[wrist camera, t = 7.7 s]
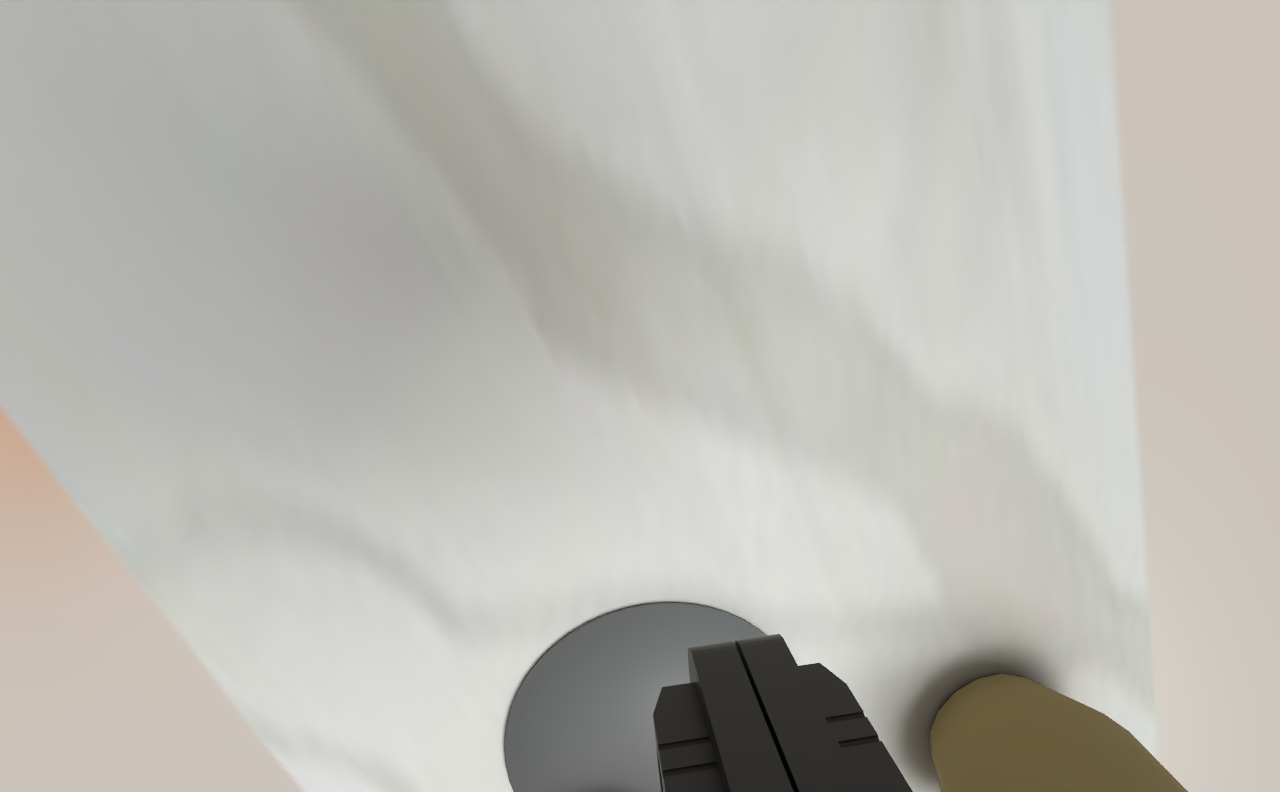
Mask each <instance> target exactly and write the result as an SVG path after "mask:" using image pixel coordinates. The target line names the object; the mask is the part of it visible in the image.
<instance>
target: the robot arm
mask: <svg viewBox="0 0 1280 792" xmlns="http://www.w3.org/2000/svg"><path fill="white" fill-rule="evenodd" d="M688 663H689V676H690V683H686V684H679V685H673V686H666V687H662V689H661V692H660V695H659V698H658V701H657V704H656V707H655V710H654V713H653V721H654V730H655V740H656V750H657V760H658V769H659V779H660V789H661V792H912V790H911V788H910V787H909V785H908V783H907V782H906V780H905V779H904V777H903V775H902V774H901V772H900V770H899V769H898V767H897V765H896V764H895V762H894V761H893V759H892V757H891V756H890V754H889V752H888V751H887V749H886V748H885V746H884V744H883V743H882V741H879V739H878V735H877V733H876V731H875V730H874V728H873V726H872V725H871V723H870V722H869V720H868V718H867V717H865V716H864V713H863V710H862V709H861V707H860V705H859V704H858V702H857V700H856V699H855V697H854V696H853V694H852V692H851V691H850V689H849V687H848V686H847V684H846V683H844V682H843V681H842V680H841V679H839V678H838V677H837V676H836V675H834V674H833V673H832V672H830V671H829V670H828V669H827V668H825V667H824V666H823V665H822V664H820V663H815V664H809V665H802V666H798V665H797V664H796V662H795V660H794V658H793V656H792V654H791V652H790V650H789V648H788V646H787V645H786V643H785V641H784V639H783V637H782V636H781V635H780V634H776V635H769V636H762V637H756V638H749V639H742V640H735V642H733V641H730V642H723V643H716V644H710V645H703V646H696V647H689V648H688Z"/></svg>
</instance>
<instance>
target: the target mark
mask: <svg viewBox="0 0 1280 792" xmlns="http://www.w3.org/2000/svg"><path fill="white" fill-rule="evenodd" d="M762 636H767V635H766V634H764V633H763V632H762V631H761V630H759V629H758V628H756V627H755V626H753V625H752V624H750V623H748V622H747V621H745V620H743V619H741V618H739V617H737V616H734V615H732V614H730V613H728V612H725V611H721V610H718V609H715V608H712V607H708V606H702V605H696V604H690V603H672V602H666V603H652V604H644V605H639V606H634V607H628V608H625V609H621V610H618V611H615V612H612V613H609V614H606V615H604V616H601V617H599V618H597V619H595V620H592V621H590V622H588V623H586V624H584V625H583V626H581V627H579V628H578V629H576V630H574V631H573V632H571V633H569V634H568V635H567V636H565V637H564V638H563V639H562V640H560V641H559V642H558V643H556V644H555V645H554V646H553V647H552V648H551V649H550V650H549V651H548V652H547V653H546V654H545V655H544V656H543V657H542V658H541V659H540V660H539V661H538V662H537V663H536V665H535V666H534V667H533V669H532V670H531V671H530V672H529V674H528V675H527V676H526V678H525V680H524V682H523V683H522V685H521V687H520V689H519V690H518V692H517V695H516V697H515V700H514V702H513V705H512V707H511V710H510V714H509V718H508V722H507V727H506V735H505V748H504V749H505V761H506V768H507V772H508V776H509V780H510V783H511V786H512V788H513V791H514V792H661V789H660V779H659V769H658V760H657V750H656V740H655V730H654V721H653V713H654V710H655V707H656V704H657V701H658V698H659V695H660V692H661V689H662V687H666V686H673V685H679V684H686V683H690V676H689V663H688V648H689V647H696V646H703V645H710V644H716V643H723V642H730V641H733V642H735V640H742V639H749V638H756V637H762Z"/></svg>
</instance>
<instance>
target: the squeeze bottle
mask: <svg viewBox="0 0 1280 792" xmlns="http://www.w3.org/2000/svg"><path fill="white" fill-rule="evenodd" d="M930 751H931V757H932V760H933V764H934V767H935V771H936V774H937V777H938V781H939V784H940V787H941V791H942V792H1188V791H1187V790H1186V789H1185V788H1184V787H1183V786H1182V785H1181V784H1180V783H1179V782H1178V781H1177V780H1176V779H1175V778H1174V777H1173V776H1172V775H1171V774H1170V773H1169V772H1168V771H1167V770H1166V769H1165V768H1164V767H1163V766H1162V765H1161V764H1160V763H1159V762H1158V761H1157V760H1156V759H1155V758H1154V757H1153V756H1152V755H1151V754H1150V753H1149V751H1148V750H1147V749H1146V748H1145V747H1144V746H1143V745H1142V744H1141V743H1140V742H1139V741H1138V740H1137V739H1136V738H1135V737H1134V736H1133V735H1132V734H1131V733H1130V732H1129V731H1128V730H1126V729H1125V728H1123V727H1122V726H1120V725H1119V724H1117V723H1116V722H1115V721H1113V720H1112V719H1110V718H1109V717H1107V716H1106V715H1105V714H1103V713H1101V712H1099V711H1097V710H1094V709H1092V708H1090V707H1088V706H1086V705H1084V704H1082V703H1079V702H1077V701H1075V700H1073V699H1071V698H1069V697H1066V696H1064V695H1062V694H1060V693H1058V692H1056V691H1054V690H1051V689H1049V688H1047V687H1045V686H1043V685H1041V684H1039V683H1036V682H1034V681H1032V680H1030V679H1028V678H1026V677H1021V676H1015V675H1008V674H998V675H993V676H988V677H983V678H979V679H976V680H975V681H973V682H971V683H970V684H968V685H966V686H964V687H963V688H961V689H959V690H958V691H956V692H955V693H954V694H953V695H952V696H951V697H950V698H949V699H948V701H947V702H946V703H945V704H944V705H943V706H942V707H941V709H940V710H939V711H938V713H937V715H936V718H935V721H934V723H933V726H932V728H931V731H930Z"/></svg>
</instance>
